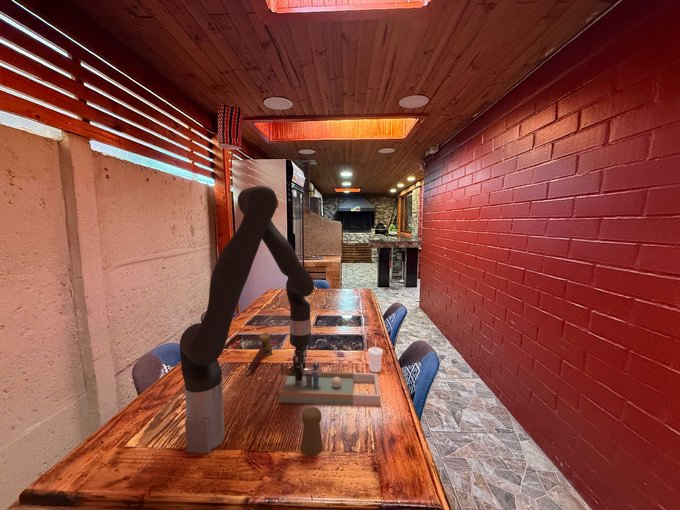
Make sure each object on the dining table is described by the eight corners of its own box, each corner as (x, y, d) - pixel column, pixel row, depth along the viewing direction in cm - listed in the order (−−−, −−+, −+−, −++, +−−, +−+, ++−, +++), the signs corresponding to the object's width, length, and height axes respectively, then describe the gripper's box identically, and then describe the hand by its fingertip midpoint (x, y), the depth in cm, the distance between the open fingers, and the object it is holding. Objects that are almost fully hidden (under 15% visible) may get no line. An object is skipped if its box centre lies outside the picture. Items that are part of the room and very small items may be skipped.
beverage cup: (365, 368, 116) (365, 336, 114) (378, 366, 118) (378, 334, 117) (371, 376, 110) (372, 342, 109) (385, 373, 112) (386, 340, 111)
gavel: (254, 385, 110) (250, 365, 107) (243, 384, 111) (239, 364, 107) (273, 350, 130) (271, 332, 126) (264, 349, 130) (262, 331, 127)
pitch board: (379, 407, 91) (380, 389, 91) (279, 403, 93) (279, 384, 93) (376, 383, 105) (377, 367, 105) (289, 379, 107) (289, 363, 106)
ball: (341, 389, 97) (341, 380, 97) (331, 389, 97) (331, 380, 97) (341, 384, 101) (341, 375, 100) (332, 383, 101) (332, 374, 100)
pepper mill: (311, 436, 79) (311, 400, 78) (327, 447, 75) (327, 409, 74) (296, 449, 74) (295, 411, 73) (311, 461, 70) (311, 422, 69)
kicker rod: (321, 387, 97) (321, 365, 97) (280, 386, 98) (280, 364, 97) (322, 382, 101) (322, 360, 100) (283, 380, 102) (283, 359, 101)
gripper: (307, 339, 90) (307, 387, 92) (313, 323, 104) (314, 365, 106) (284, 338, 90) (285, 386, 92) (294, 322, 105) (294, 364, 107)
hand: (300, 375), depth 99 cm, fingers open, 5 cm apart
